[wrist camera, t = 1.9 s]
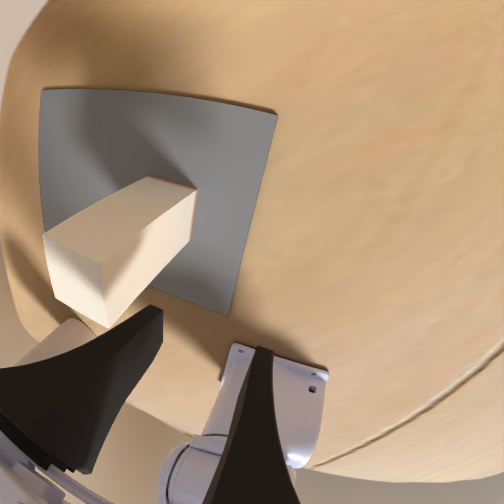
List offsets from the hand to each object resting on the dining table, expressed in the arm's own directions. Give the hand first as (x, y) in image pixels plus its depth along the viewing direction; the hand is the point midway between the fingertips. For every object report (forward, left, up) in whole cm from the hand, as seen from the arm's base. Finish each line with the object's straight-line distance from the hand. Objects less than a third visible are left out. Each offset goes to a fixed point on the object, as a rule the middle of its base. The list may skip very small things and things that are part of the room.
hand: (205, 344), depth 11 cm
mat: (+12, 0, -10) cm, 16 cm away
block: (+7, 0, -10) cm, 12 cm away
